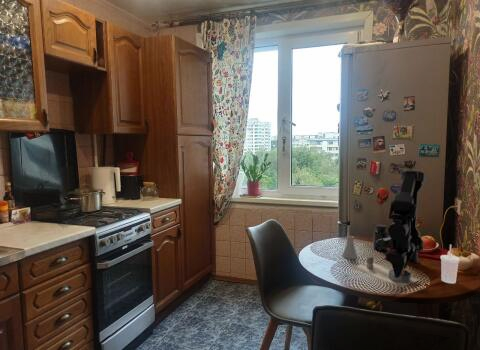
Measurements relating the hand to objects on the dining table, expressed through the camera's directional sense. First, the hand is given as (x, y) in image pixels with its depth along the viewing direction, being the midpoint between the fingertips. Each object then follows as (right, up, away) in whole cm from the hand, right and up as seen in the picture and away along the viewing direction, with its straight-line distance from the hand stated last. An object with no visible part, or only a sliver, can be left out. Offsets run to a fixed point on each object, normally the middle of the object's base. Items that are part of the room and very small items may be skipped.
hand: (399, 273), depth 125 cm
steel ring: (0, -2, 0) cm, 2 cm away
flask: (-11, -1, +25) cm, 27 cm away
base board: (-3, -2, +6) cm, 7 cm away
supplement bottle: (+8, +1, +36) cm, 37 cm away
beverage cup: (+19, -3, +1) cm, 19 cm away
